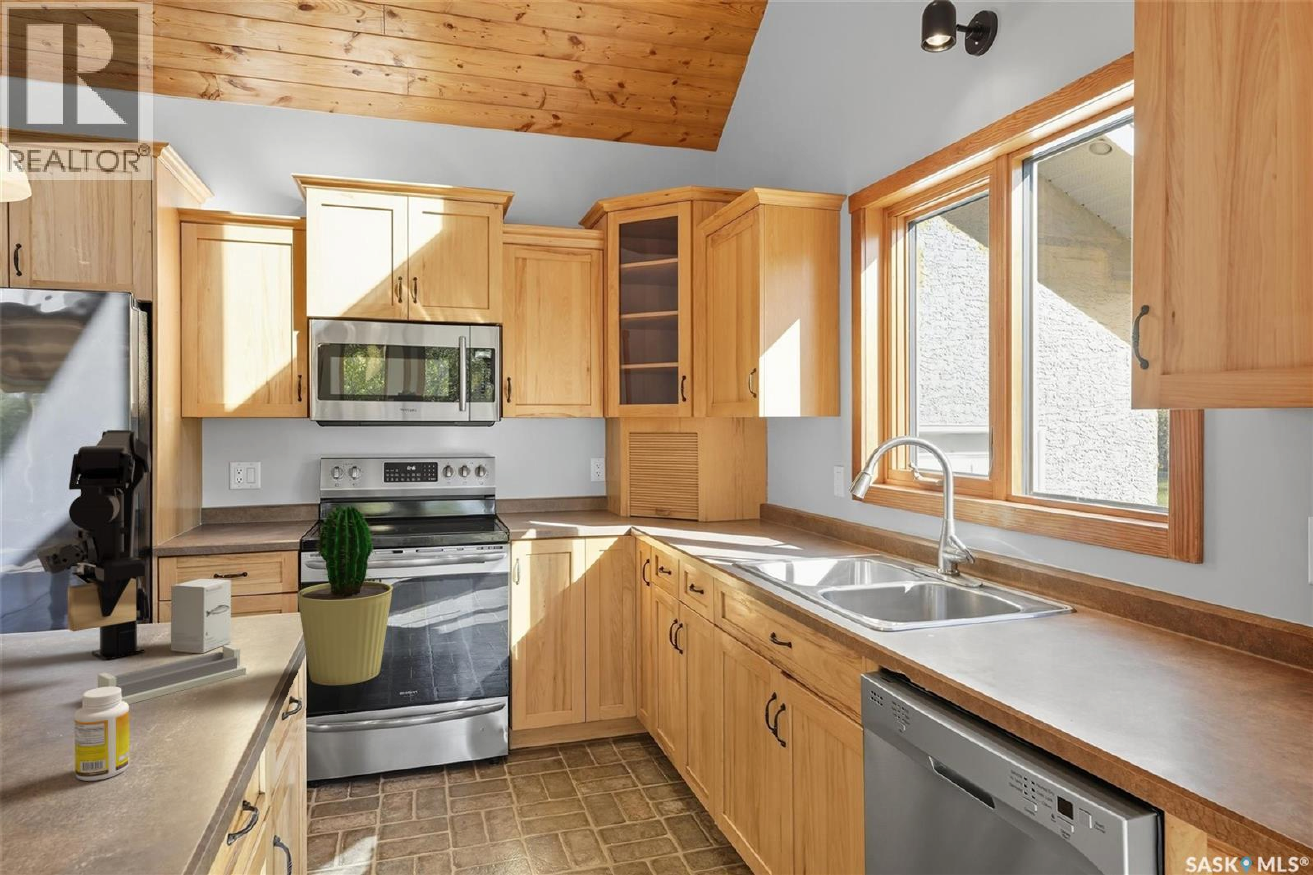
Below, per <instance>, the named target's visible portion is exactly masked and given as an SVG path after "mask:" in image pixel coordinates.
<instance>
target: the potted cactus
mask: <svg viewBox="0 0 1313 875" xmlns="http://www.w3.org/2000/svg"><path fill="white" fill-rule="evenodd" d="M359 507H360V505H356V506H353V505H348V506H342V505H339V506H337V507H335V506H333V508H331V510H332V511H330V512H329V513H328V512H327V511H326V518H325V517H324V516H322V517H323V518H322V517H321V519H323V520H322V521H323V523H322V522H321V521H319V520H318V521H319V522H320V523H321V524H320V523H319V526H320V527H321V528H320V530H321V531H320V532H319V533H318V532H317V533H316V536H315V537H316V538H314V539H317V535H318V537H319V540H318V541H317V542H315V543H314V546H315V547H316V548H314V549H313V550H315V551H317V554H316V557H315V558H318V557H319V556H320V557H321V558H322V560H323V561H325V562H324V563H323V561H322V562H321V564H323V568H325V569H326V570H324V572H322V575H325V576H327V578H324V579H323V580H328V583H321V584H316V585H311V586H308V587H305V588H303V589H301V590H299V591H298V592H297V599H298V600H297V601H298V609H299V615H300V621H301V627H302V635H303V640H304V647H305V653H306V661H307V667H308V674H309V675H308V676H309V677H310V681H312V682H313V683H314V684H318V685H322V686H323V685H324V686H345V685H346V686H348V685H353V684H357V683H362V682H367V681H368V680H372V679H373V678H376V677H377V676H379V673H380V671H381V666H382V659H383V653H384V646H385V639H386V633H387V626H388V622H389V613H390V607H391V602H392V596H393V595H392V593H393V590H394V587H393V585H391V584H389V583H385V582H383V581H382V582H380V581H373V580H372V581H371V580H365V579H366V577H371V576H369V575H368V574H367V570H368V569H371V570H373V568H372V567H370V566H368V564H369V563H372V561H369V560H370V558H369V557H370V555H371V554H373V555H375V554H374V553H375V551H376V549H374V546H373V543H375V540H373V541H372V539H373V538H371V535H373V534H376V533H377V532H378V531H374V532H370V529H372V526H370V525H371V523H369V524H368V522H366V521H367V520H366V518H368V517H370V514H368V515H363V513H364V512H363V511H364V510H362V511H360V510H361V507H360V508H359ZM377 541H378V540H376V542H377ZM318 555H319V556H318ZM317 556H318V557H317Z"/></svg>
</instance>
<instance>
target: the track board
mask: <svg viewBox="0 0 1313 875" xmlns="http://www.w3.org/2000/svg"><path fill="white" fill-rule="evenodd" d="M245 674H247V667H245V666H242V665H241V648H239V647H236V646H234V645H230V644H226V645H223V646H222V651H217V652H212V653H207V654H205V655H200V656H195V657H191V658H187V659H181V660H177V661H173V662H170V663H165V664H160V665H156V666H151V667H148V668H142V669H140V670H139V669H138V670H135V671H130V672H126V673H122V674H117V675H112V674H109V673H107V672H102V673H97V688H101V687H112V686H113V687H119V688H121V695H122V701H124V702H126V703H127V704H128V705H131V704H134V703H138V702H139V703H140V702H143V701H146V700H149V699H150V700H151V699H154V698H158V697H161V696H165V695H171V694H173V693H176V692H181V691H184V690H189V689H192V688H196V687H199V686H200V687H201V686H203V685H207V684H211V683H215V682H218V681H223V680H226V679H227V680H228V679H230V678H233V677H238V676H241V675H245Z"/></svg>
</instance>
